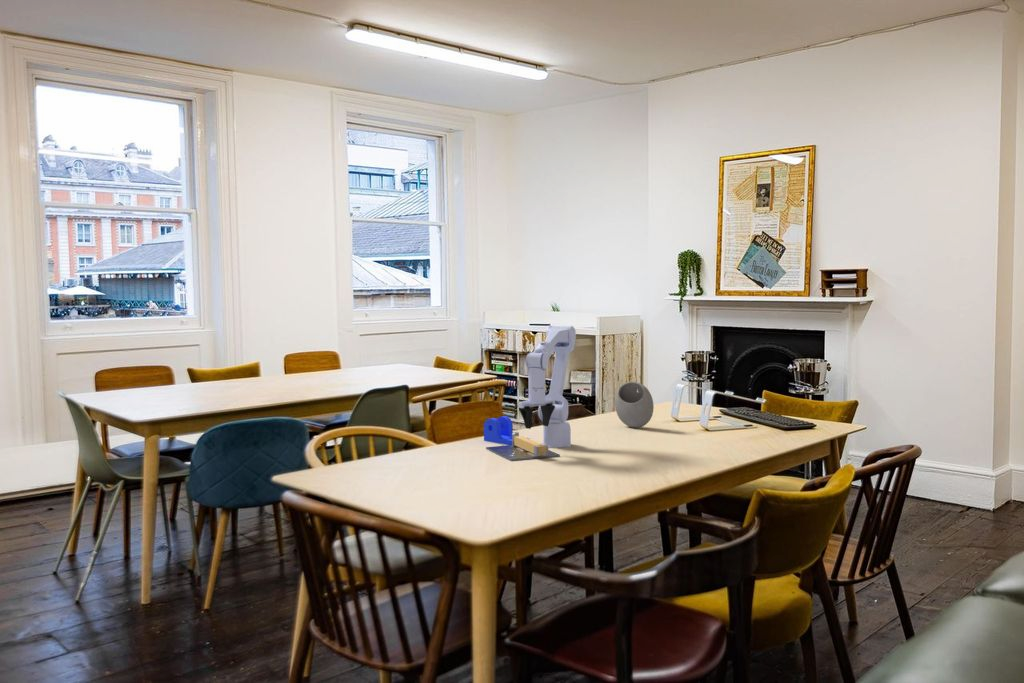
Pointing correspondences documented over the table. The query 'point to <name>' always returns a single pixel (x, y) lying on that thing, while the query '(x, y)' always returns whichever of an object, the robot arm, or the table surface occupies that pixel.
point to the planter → (634, 404)
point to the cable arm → (531, 445)
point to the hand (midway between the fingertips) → (536, 427)
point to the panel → (517, 452)
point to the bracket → (498, 430)
